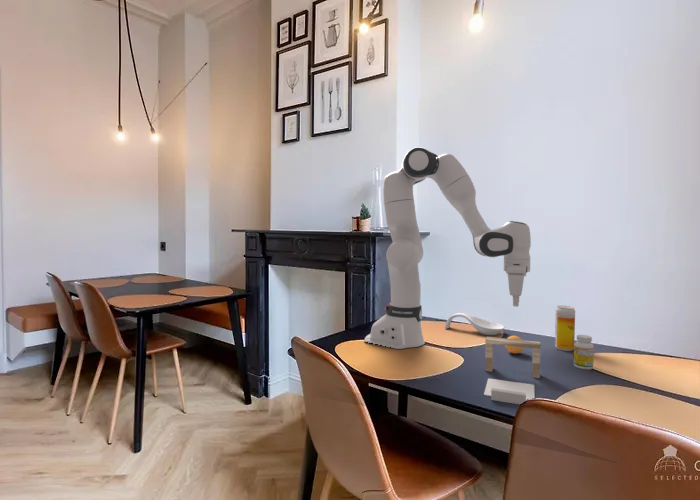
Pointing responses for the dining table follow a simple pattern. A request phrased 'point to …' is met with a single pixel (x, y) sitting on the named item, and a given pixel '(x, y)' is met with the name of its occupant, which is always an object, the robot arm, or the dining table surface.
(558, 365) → the dining table surface
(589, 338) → the supplement bottle
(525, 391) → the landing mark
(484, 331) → the spoon rest
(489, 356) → the bridge
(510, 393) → the block
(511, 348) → the ball
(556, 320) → the orange yellow canister
